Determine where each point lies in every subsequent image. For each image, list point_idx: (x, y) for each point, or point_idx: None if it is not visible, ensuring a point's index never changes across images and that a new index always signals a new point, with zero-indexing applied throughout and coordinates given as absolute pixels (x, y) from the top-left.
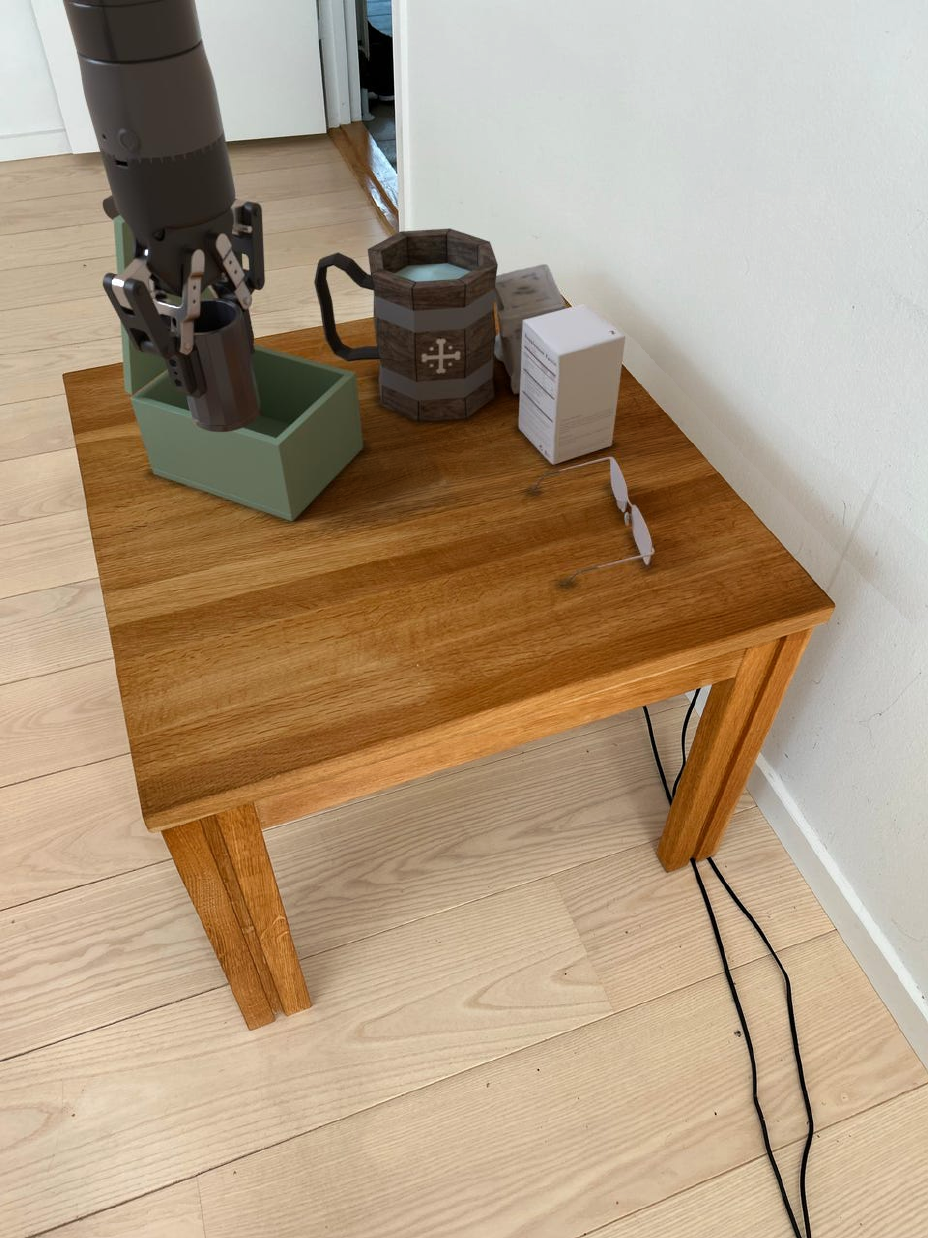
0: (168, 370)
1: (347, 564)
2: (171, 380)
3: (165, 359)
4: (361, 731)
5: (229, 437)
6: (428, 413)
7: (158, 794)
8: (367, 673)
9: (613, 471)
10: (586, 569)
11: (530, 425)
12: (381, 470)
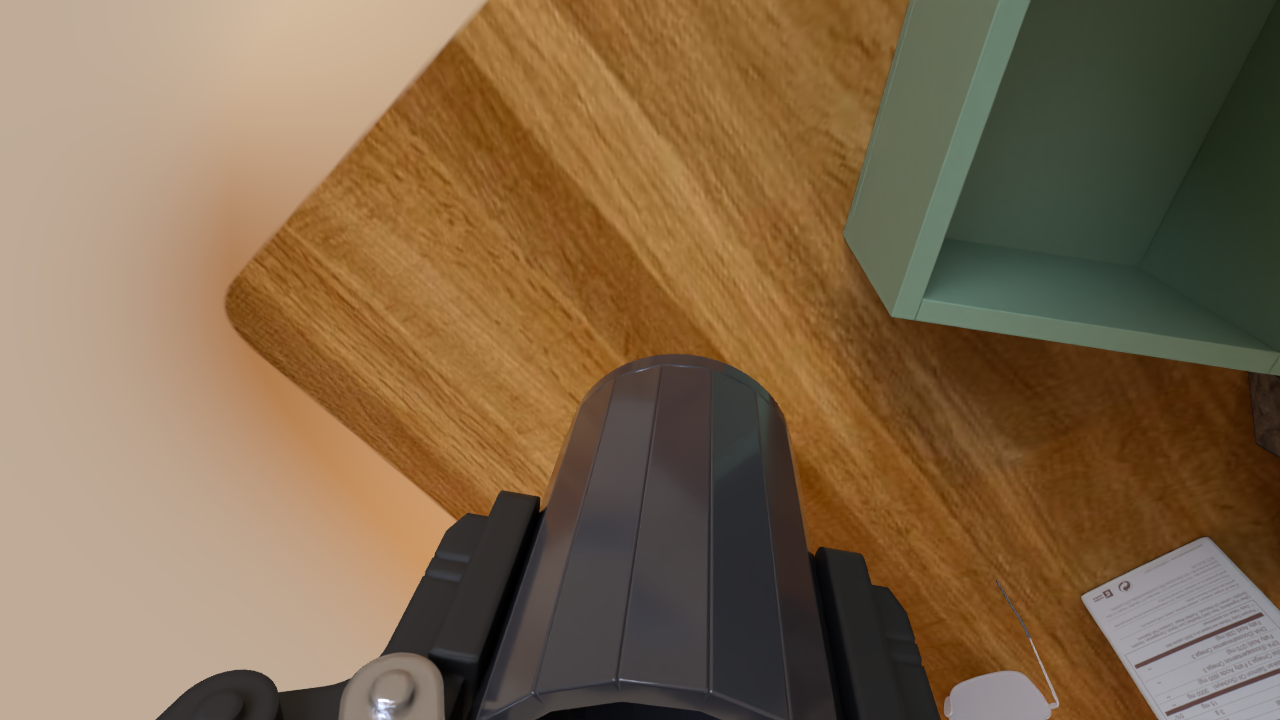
0: (418, 587)
1: (747, 373)
2: (438, 550)
3: (397, 631)
4: (448, 490)
5: (939, 141)
6: (1265, 387)
7: (229, 301)
8: (538, 469)
9: (1026, 702)
10: None
11: (1180, 585)
12: (1046, 341)
